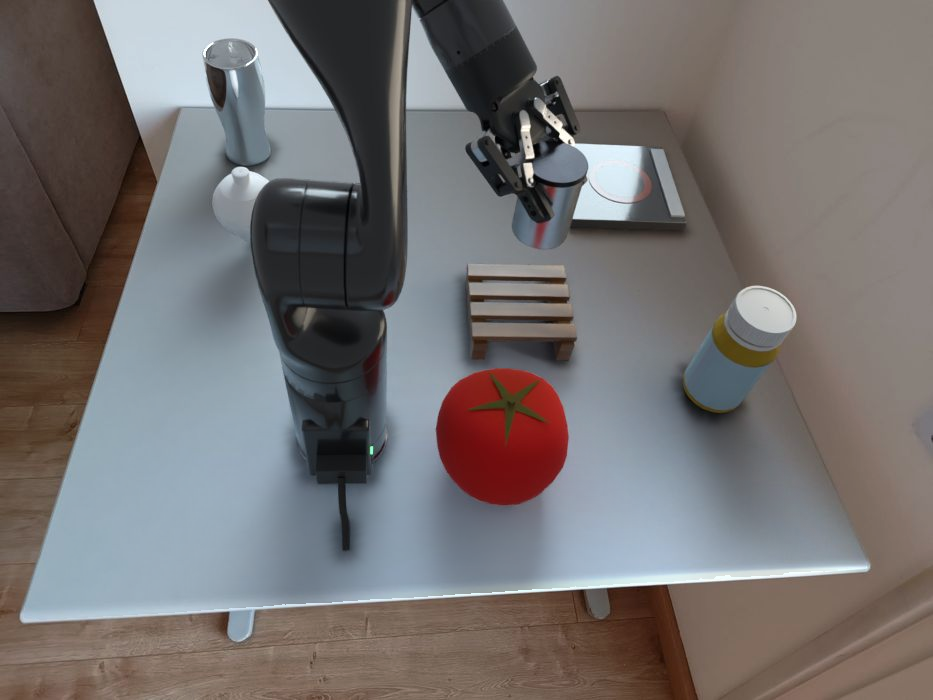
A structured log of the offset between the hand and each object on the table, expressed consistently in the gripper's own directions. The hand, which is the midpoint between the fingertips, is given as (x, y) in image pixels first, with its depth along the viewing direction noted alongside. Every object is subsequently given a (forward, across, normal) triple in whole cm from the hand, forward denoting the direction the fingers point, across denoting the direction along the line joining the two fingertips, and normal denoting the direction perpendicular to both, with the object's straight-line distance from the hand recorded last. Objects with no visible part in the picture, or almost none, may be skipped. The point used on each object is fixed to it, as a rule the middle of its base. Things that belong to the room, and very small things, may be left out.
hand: (562, 201), depth 71 cm
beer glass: (-20, 0, +47) cm, 51 cm away
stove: (+11, +28, +16) cm, 34 cm away
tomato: (+19, -18, +9) cm, 28 cm away
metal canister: (+2, 0, +5) cm, 5 cm away
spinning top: (-10, -12, +38) cm, 41 cm away
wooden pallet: (+12, -1, +15) cm, 19 cm away
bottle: (+29, +5, -2) cm, 30 cm away
